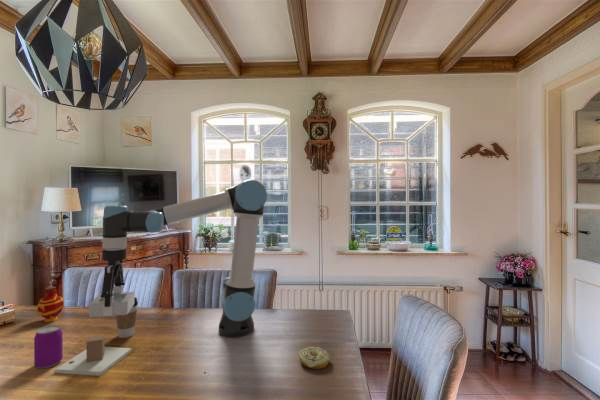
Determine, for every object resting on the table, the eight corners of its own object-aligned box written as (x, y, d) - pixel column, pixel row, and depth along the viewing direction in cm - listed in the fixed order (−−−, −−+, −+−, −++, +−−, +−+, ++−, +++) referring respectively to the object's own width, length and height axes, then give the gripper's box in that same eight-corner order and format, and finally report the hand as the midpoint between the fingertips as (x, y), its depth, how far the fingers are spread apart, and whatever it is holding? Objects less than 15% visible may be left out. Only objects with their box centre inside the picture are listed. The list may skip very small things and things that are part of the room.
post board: (131, 351, 117) (131, 329, 117) (100, 375, 101) (100, 350, 101) (91, 349, 119) (91, 327, 119) (54, 372, 103) (54, 347, 103)
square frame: (134, 303, 120) (134, 291, 120) (127, 314, 109) (127, 301, 109) (100, 305, 117) (100, 293, 117) (89, 317, 106) (89, 303, 106)
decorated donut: (311, 374, 103) (311, 363, 103) (293, 360, 112) (293, 349, 112) (335, 365, 109) (335, 354, 109) (316, 352, 118) (316, 342, 118)
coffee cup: (127, 340, 126) (127, 303, 126) (109, 338, 128) (109, 301, 128) (142, 331, 135) (142, 296, 134) (125, 329, 136) (125, 295, 136)
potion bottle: (68, 318, 148) (68, 286, 148) (41, 326, 140) (41, 292, 139) (59, 313, 154) (59, 283, 154) (32, 320, 145) (32, 288, 145)
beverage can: (31, 364, 108) (31, 329, 108) (59, 355, 114) (59, 322, 114) (37, 372, 103) (36, 336, 103) (65, 362, 109) (65, 328, 109)
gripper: (112, 243, 123) (110, 299, 123) (91, 254, 100) (89, 323, 100) (133, 243, 125) (131, 298, 125) (117, 254, 102) (115, 321, 102)
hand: (112, 309), depth 113 cm, fingers closed on square frame, 11 cm apart
